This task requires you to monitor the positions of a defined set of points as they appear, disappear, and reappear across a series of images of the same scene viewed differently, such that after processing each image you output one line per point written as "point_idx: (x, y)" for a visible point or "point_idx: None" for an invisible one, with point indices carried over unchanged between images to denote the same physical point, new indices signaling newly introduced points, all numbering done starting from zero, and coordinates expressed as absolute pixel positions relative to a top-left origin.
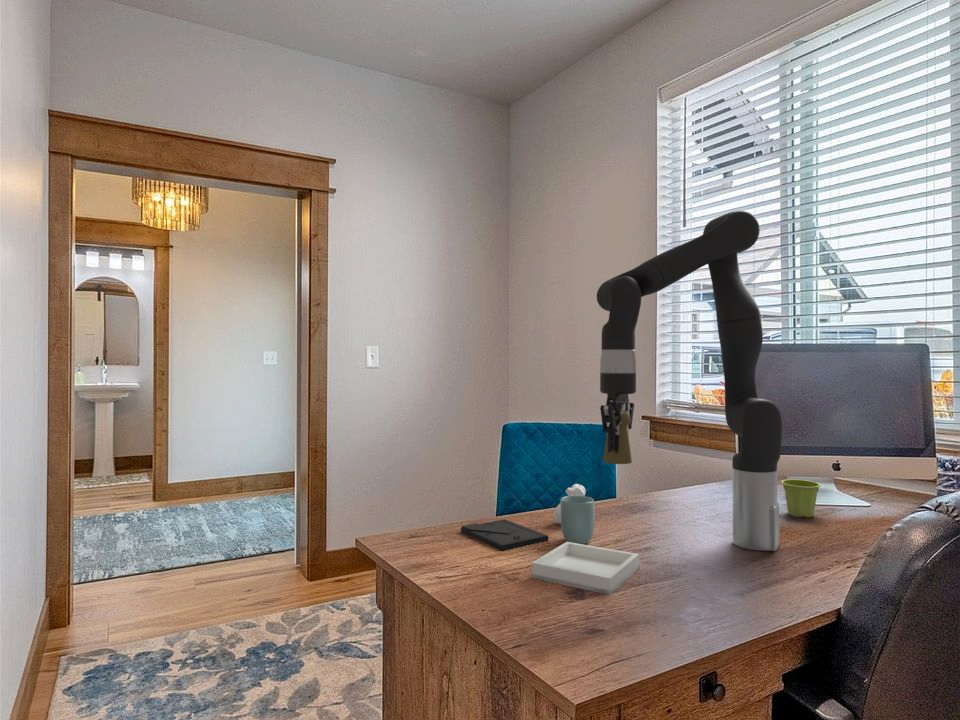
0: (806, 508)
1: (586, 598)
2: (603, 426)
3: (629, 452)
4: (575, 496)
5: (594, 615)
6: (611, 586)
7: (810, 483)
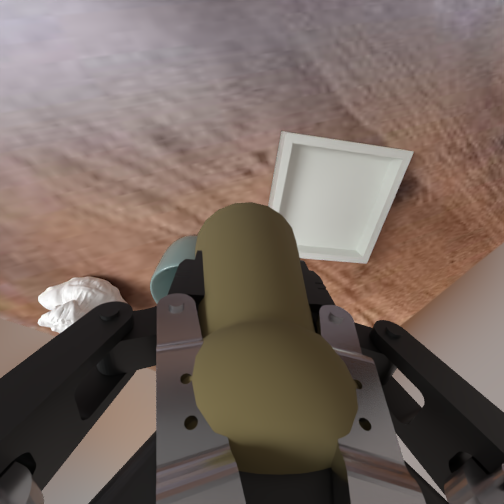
0: None
1: (412, 175)
2: (401, 392)
3: (259, 223)
4: (158, 301)
5: (465, 151)
6: (401, 149)
7: None
